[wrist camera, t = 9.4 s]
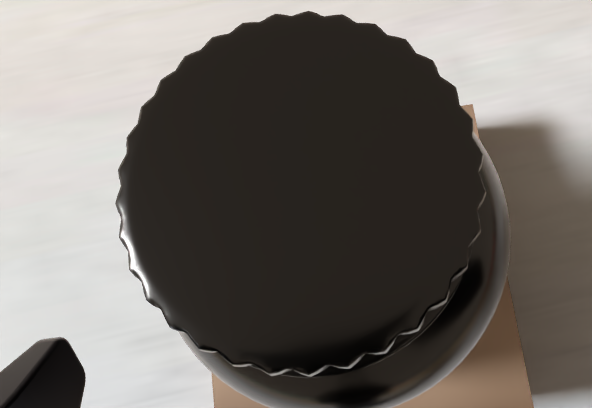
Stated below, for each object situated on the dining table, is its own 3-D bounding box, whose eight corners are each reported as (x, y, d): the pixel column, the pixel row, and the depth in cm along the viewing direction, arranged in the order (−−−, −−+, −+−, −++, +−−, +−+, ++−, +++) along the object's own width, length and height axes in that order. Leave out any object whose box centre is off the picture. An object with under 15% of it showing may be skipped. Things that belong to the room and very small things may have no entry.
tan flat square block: (514, 398, 19) (533, 408, 17) (236, 425, 20) (216, 438, 18) (462, 129, 21) (472, 104, 19) (214, 168, 23) (194, 149, 20)
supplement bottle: (421, 150, 19) (486, -127, 7) (484, 350, 17) (698, 400, 6) (231, 203, 20) (15, 24, 8) (274, 400, 18) (80, 539, 6)
